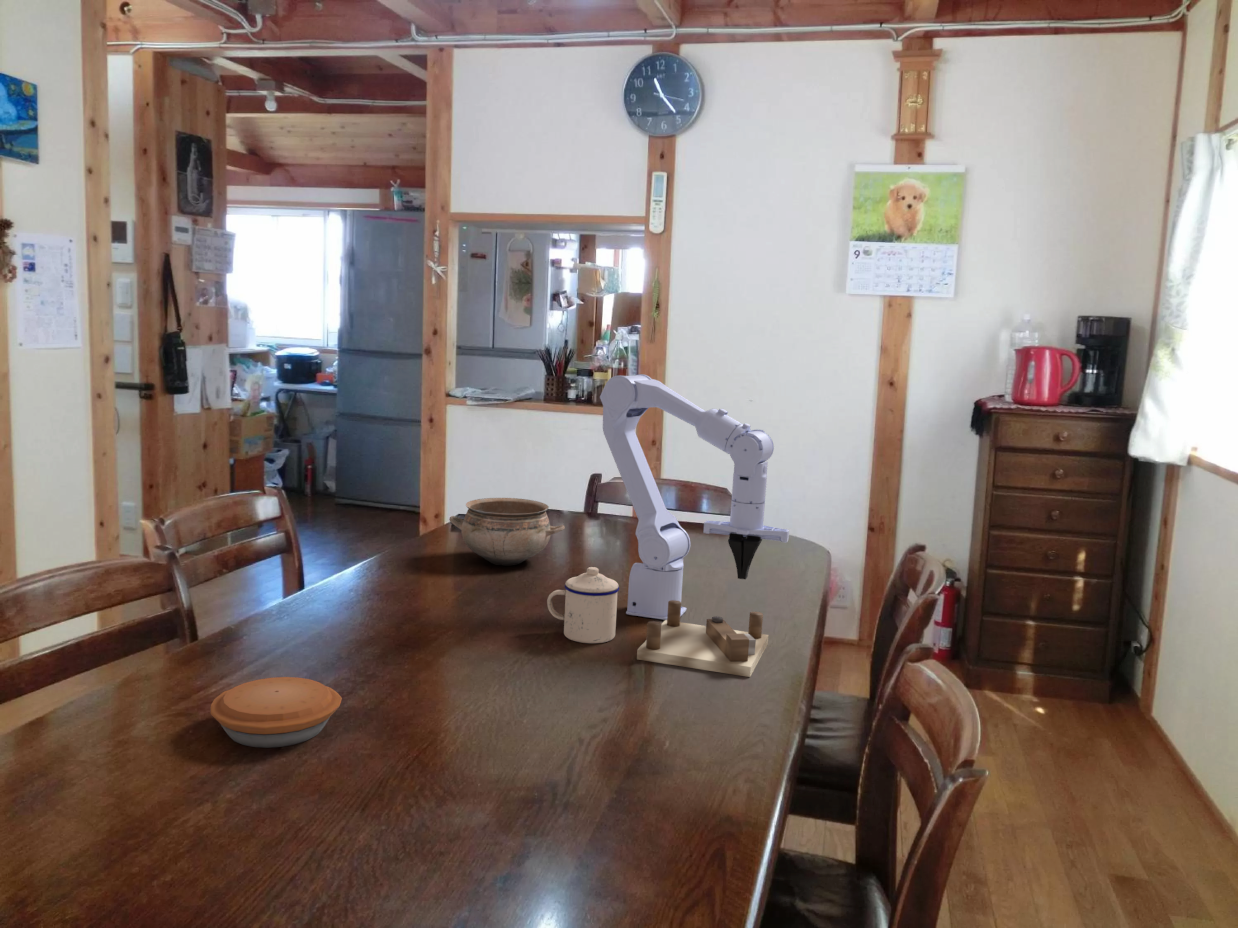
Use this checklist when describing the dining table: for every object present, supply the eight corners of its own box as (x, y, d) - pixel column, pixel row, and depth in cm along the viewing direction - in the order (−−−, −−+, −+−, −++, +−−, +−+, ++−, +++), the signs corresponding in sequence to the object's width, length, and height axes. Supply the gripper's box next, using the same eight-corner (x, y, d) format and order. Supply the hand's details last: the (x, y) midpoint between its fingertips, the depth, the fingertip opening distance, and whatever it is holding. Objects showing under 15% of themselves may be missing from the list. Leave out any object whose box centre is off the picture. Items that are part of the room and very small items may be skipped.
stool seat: (636, 659, 158) (638, 624, 157) (664, 628, 174) (666, 597, 174) (750, 676, 153) (752, 641, 152) (767, 644, 169) (770, 611, 168)
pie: (266, 768, 115) (266, 726, 115) (183, 732, 124) (182, 693, 123) (366, 725, 128) (367, 688, 128) (285, 696, 137) (285, 661, 136)
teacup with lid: (620, 630, 172) (624, 564, 171) (611, 647, 163) (615, 577, 162) (552, 623, 174) (555, 557, 173) (539, 639, 165) (542, 570, 164)
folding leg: (705, 632, 168) (707, 612, 168) (721, 632, 169) (723, 612, 168) (730, 661, 155) (731, 639, 154) (747, 660, 155) (749, 639, 155)
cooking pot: (571, 556, 222) (573, 502, 220) (553, 577, 204) (556, 518, 202) (461, 546, 226) (463, 493, 224) (434, 567, 207) (436, 508, 205)
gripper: (701, 500, 171) (696, 577, 173) (787, 509, 167) (780, 588, 169) (710, 493, 178) (705, 568, 180) (792, 502, 174) (786, 578, 176)
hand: (742, 577), depth 175 cm, fingers closed
